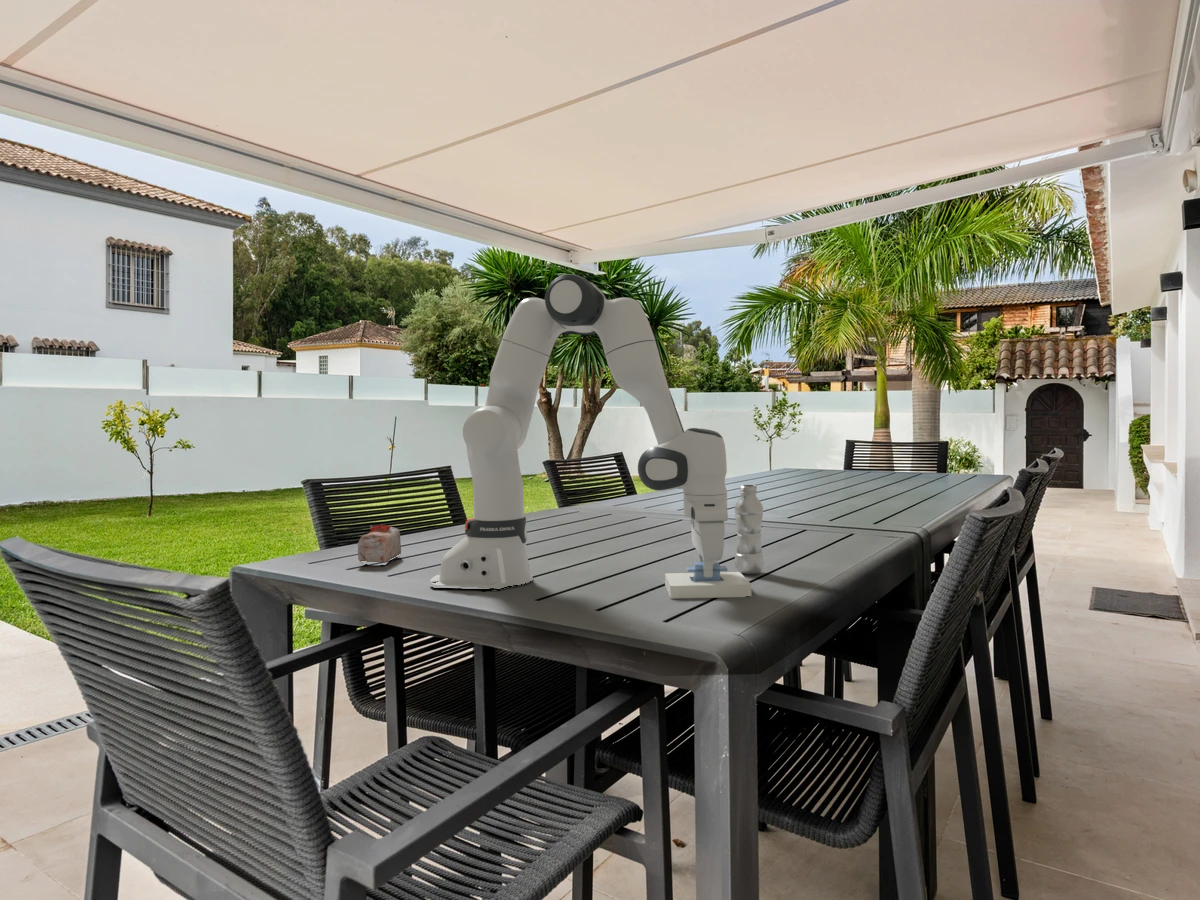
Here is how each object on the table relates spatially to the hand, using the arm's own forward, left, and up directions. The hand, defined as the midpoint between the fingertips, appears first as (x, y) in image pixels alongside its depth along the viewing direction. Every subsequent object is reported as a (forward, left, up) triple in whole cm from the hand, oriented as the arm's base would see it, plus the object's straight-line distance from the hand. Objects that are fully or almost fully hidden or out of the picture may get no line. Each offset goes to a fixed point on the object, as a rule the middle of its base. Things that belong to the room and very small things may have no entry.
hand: (706, 574), depth 155 cm
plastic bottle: (+12, +16, -4) cm, 20 cm away
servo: (0, 0, -2) cm, 2 cm away
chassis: (0, 0, -3) cm, 3 cm away
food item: (-78, +39, -4) cm, 88 cm away
